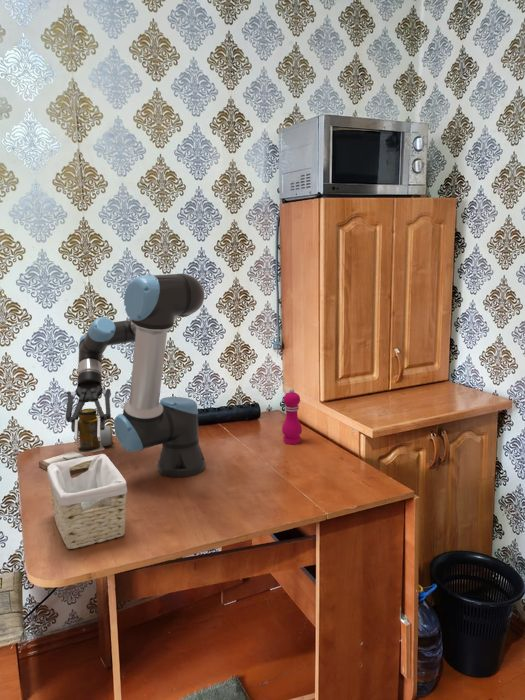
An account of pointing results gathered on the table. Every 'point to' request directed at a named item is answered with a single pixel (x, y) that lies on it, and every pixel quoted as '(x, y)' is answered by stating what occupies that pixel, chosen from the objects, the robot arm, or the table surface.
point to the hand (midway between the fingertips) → (87, 439)
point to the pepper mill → (291, 418)
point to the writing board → (63, 457)
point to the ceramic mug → (106, 436)
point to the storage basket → (88, 500)
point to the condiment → (88, 431)
